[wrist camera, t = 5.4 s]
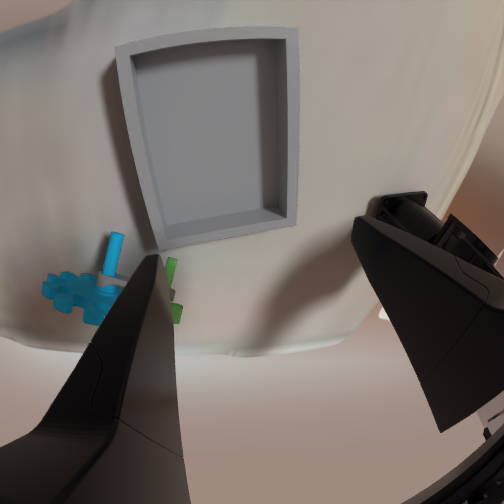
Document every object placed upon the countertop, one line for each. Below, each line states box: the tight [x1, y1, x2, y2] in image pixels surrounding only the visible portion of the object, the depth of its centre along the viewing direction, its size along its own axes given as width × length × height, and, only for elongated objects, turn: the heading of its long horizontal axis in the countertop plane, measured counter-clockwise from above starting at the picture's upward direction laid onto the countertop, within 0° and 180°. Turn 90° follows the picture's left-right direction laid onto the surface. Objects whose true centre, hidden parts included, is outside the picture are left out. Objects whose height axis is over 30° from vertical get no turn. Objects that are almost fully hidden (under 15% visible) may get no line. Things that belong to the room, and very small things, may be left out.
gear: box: [42, 231, 183, 326], centre depth 19 cm, size 11×6×10 cm
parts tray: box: [115, 27, 300, 251], centre depth 17 cm, size 11×15×2 cm
